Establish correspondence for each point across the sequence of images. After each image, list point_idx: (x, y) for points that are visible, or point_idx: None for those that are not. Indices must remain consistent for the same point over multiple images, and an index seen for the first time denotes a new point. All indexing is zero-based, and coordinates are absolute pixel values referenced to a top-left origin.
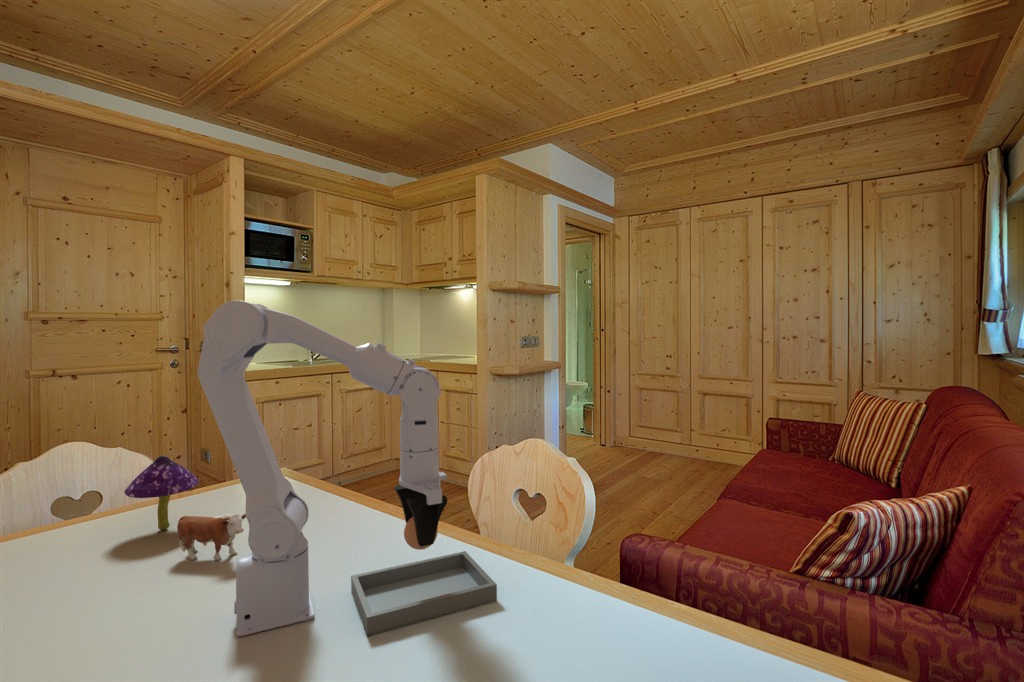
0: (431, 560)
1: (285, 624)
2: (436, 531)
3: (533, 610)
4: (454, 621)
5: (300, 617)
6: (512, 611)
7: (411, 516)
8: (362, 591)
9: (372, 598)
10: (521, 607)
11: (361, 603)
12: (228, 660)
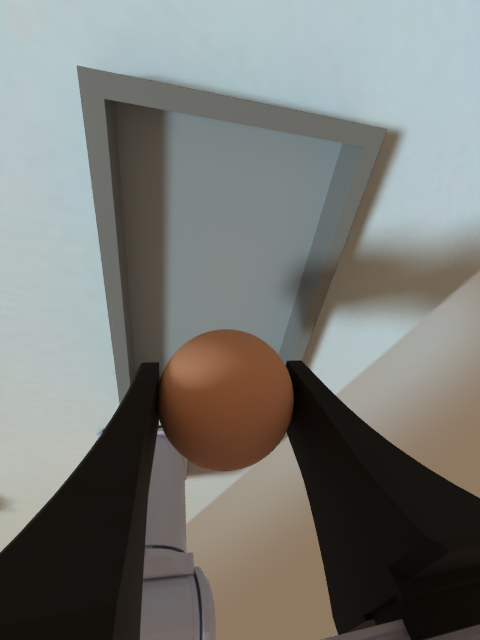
0: (115, 239)
1: None
2: (278, 361)
3: (468, 54)
4: (342, 260)
5: None
6: (420, 118)
7: (151, 451)
8: None
9: None
10: (431, 78)
11: None
12: (223, 475)
